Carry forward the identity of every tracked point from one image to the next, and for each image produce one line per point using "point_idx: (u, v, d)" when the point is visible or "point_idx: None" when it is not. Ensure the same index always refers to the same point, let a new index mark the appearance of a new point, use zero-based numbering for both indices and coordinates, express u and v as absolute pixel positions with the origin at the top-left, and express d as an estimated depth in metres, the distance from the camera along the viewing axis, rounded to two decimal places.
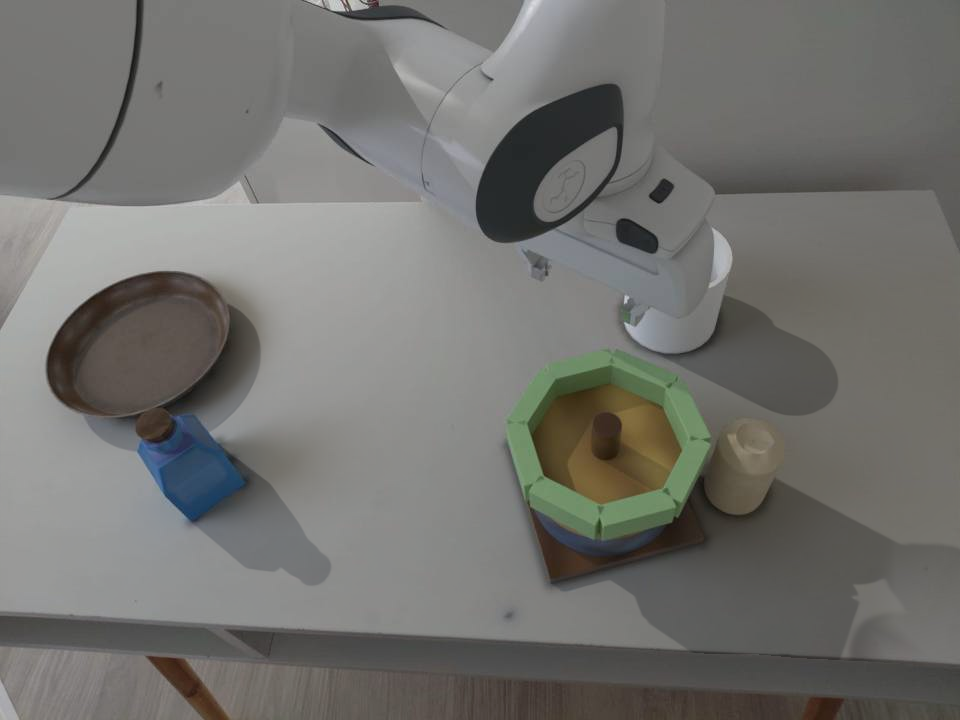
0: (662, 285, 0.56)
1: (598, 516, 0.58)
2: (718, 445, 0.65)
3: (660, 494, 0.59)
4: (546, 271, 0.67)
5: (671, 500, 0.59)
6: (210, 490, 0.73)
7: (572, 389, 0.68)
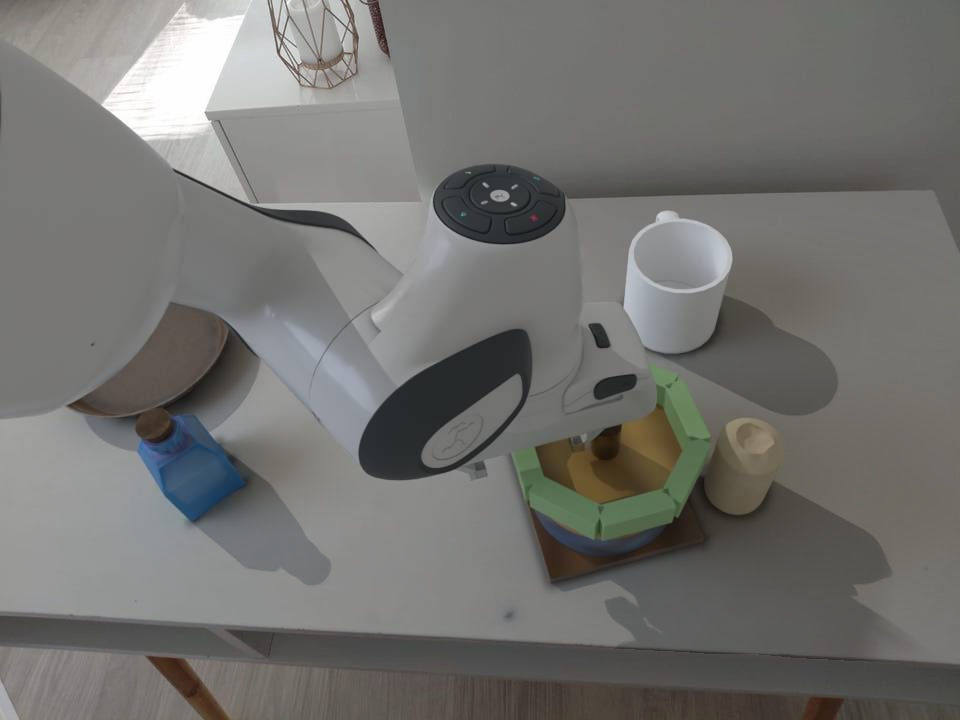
0: (628, 403, 0.56)
1: (598, 516, 0.58)
2: (718, 445, 0.65)
3: (660, 494, 0.59)
4: None
5: (671, 500, 0.59)
6: (210, 490, 0.73)
7: None
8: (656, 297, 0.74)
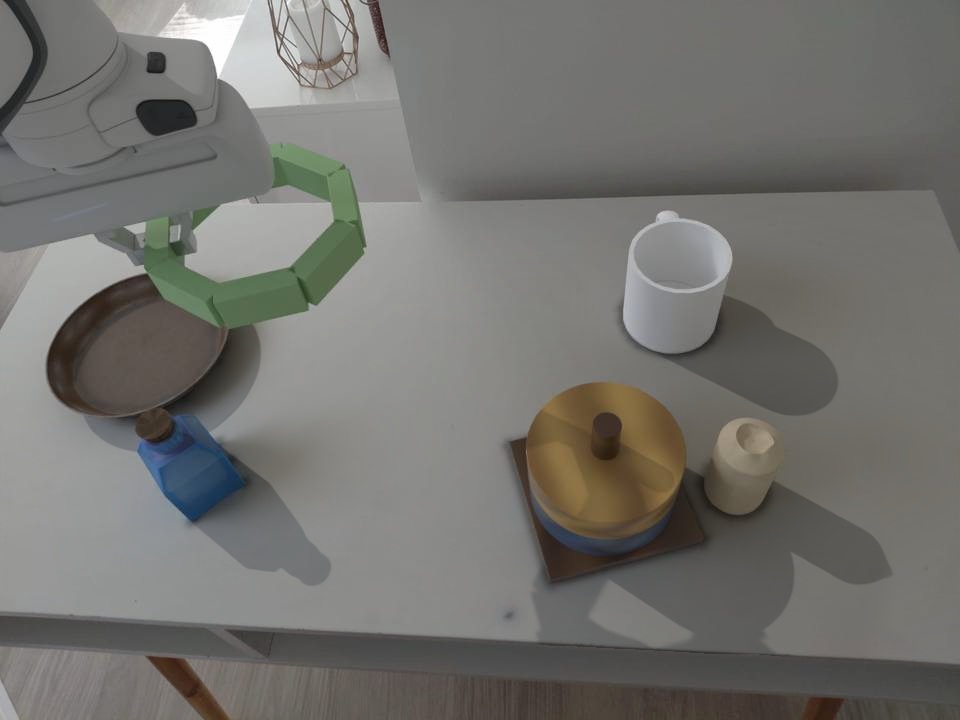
0: (228, 164, 0.51)
1: (211, 293, 0.52)
2: (718, 445, 0.65)
3: (284, 272, 0.53)
4: None
5: (294, 277, 0.53)
6: (210, 490, 0.73)
7: None
8: (656, 297, 0.74)
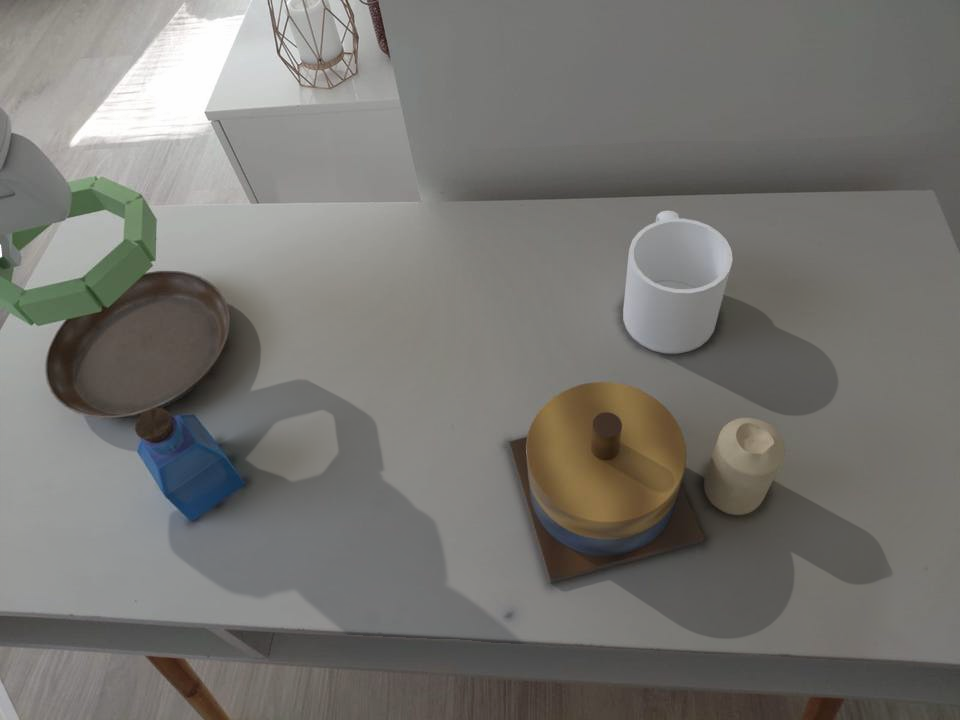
0: (26, 199, 0.66)
1: (18, 298, 0.67)
2: (718, 445, 0.65)
3: (77, 281, 0.68)
4: None
5: (83, 286, 0.68)
6: (210, 490, 0.73)
7: None
8: (656, 297, 0.74)
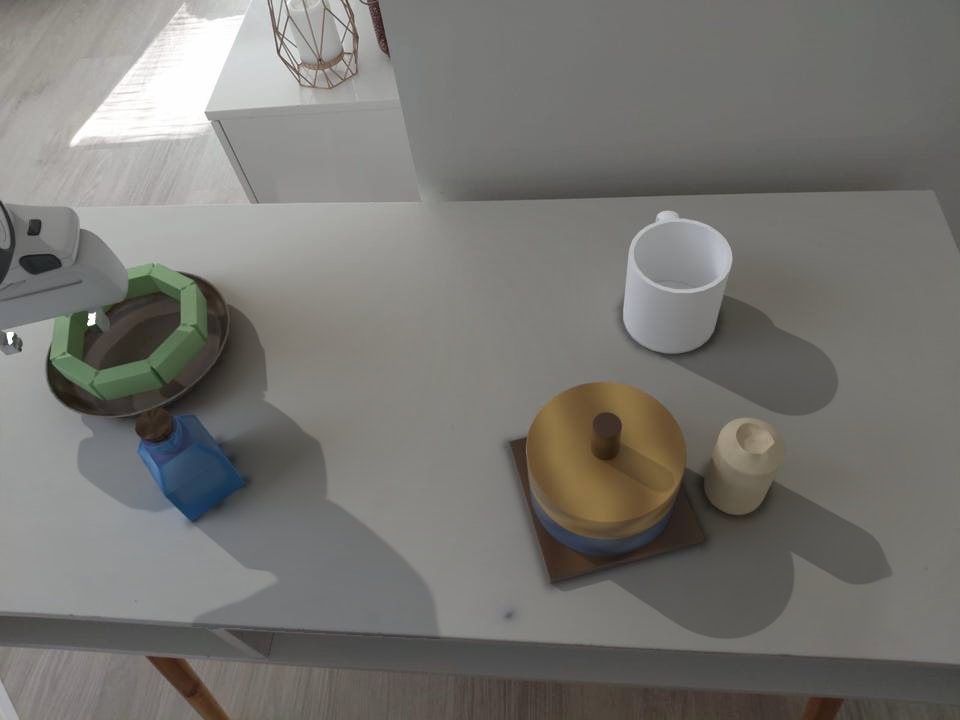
0: (91, 285, 0.75)
1: (92, 378, 0.78)
2: (718, 445, 0.65)
3: (142, 363, 0.79)
4: (18, 343, 0.81)
5: (148, 367, 0.78)
6: (210, 490, 0.73)
7: (127, 294, 0.88)
8: (656, 297, 0.74)
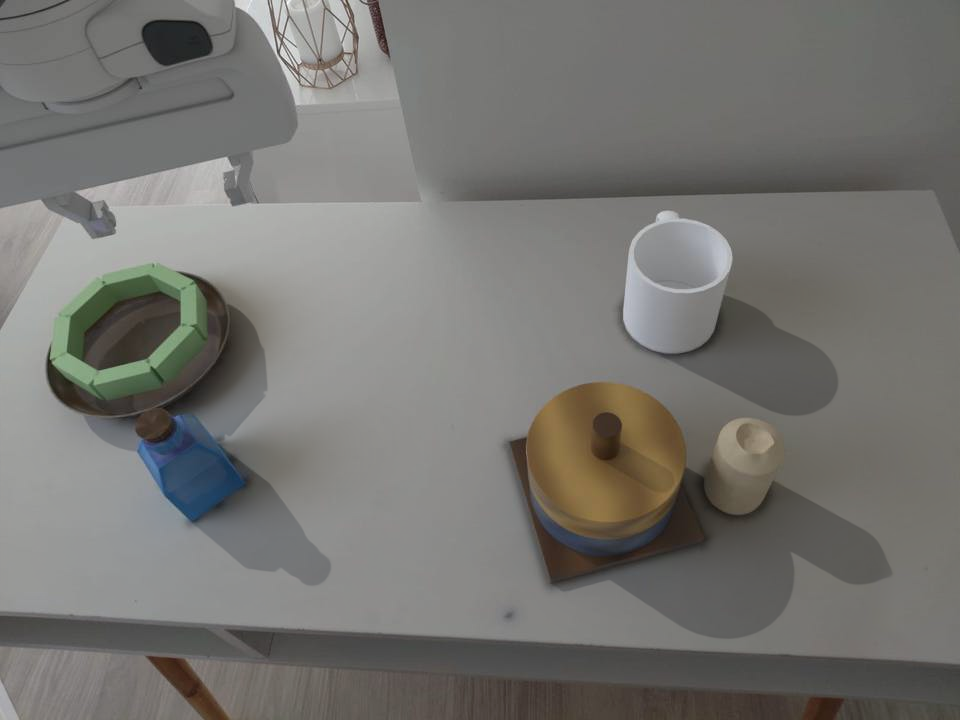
0: (246, 105, 0.44)
1: (92, 378, 0.78)
2: (718, 445, 0.65)
3: (142, 363, 0.79)
4: (110, 219, 0.51)
5: (148, 367, 0.78)
6: (210, 490, 0.73)
7: (127, 294, 0.88)
8: (656, 297, 0.74)
